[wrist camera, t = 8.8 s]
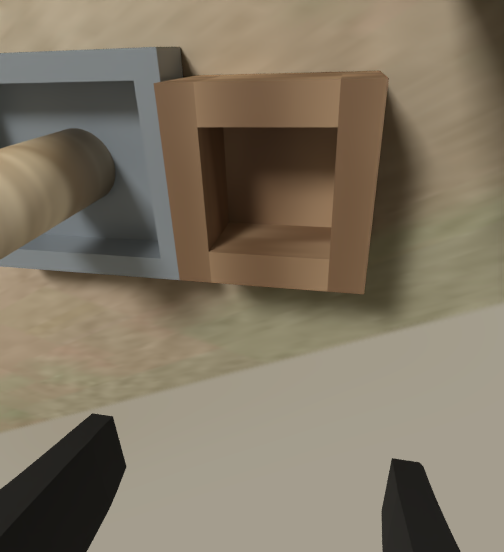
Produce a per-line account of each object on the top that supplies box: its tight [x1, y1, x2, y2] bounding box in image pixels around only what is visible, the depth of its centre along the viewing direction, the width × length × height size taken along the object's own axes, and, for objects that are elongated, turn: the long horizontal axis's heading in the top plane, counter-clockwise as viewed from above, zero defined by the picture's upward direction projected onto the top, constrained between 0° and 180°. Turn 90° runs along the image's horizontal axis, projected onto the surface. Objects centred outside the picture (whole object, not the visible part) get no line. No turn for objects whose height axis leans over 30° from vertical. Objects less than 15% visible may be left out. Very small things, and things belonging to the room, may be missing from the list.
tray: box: [0, 47, 183, 280], centre depth 18 cm, size 10×9×2 cm
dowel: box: [0, 128, 115, 260], centre depth 16 cm, size 3×3×7 cm
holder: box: [154, 71, 389, 294], centre depth 16 cm, size 7×7×4 cm
